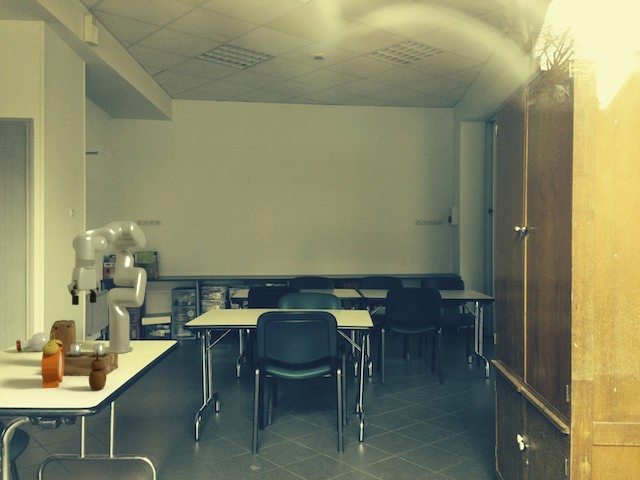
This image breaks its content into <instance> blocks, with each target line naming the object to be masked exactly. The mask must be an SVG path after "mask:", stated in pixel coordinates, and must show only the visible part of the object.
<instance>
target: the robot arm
mask: <svg viewBox="0 0 640 480" xmlns="http://www.w3.org/2000/svg"><path fill="white" fill-rule="evenodd" d="M146 239H147V238H146V235H145V234H144V232H143V230H142V229H141V228H140V226H138V224H137V223H136V222H134V221H130V220H126V221H125V220H124V221H122V220H119V221H118V220H116V221H112V222H110V223H107V224H105V225H104V226H102V227H99V228H94V229H90V230H86V231H82V232H80V233H79V234H77V235H75V237H74V238H73V240H72V243H71V245H72V248H73V250H74V252H75V255H74V256H75V258H74V259H75V260H74V265H75V266H74V267H73V270H72V273H71V283H69V284H68V285H67V286H66V287H67V290H68V292H69V294H70V296H71V305H72V306H79V304H80V302H79V301H80V296H79V293H80V292H82V291H89V292H90V293H89V303H90V304H96V303H97V294H98V292H99V290H100V287H101V282H99V281H98V280H97V274H96V273H97V272H96V267H95V264H96V262H95V253H101V252H105V250H106V249H107V247H108V245H110V244H111V246H112V248H113V251H114V254H115V257H116V258H115V259H116V260H115V267H114V273H113V283H114V284H115V285H116V286H119V287H114V288H111V289H110V290H108V292H107V295H106V298H107V299H106V302H107V305H108V316H109V319H108V322H109V324H108V325H109V326H108V327H109V329H108V333H109V334H108V337H109V339H108V340H109V341H108V343H109V345H108V348H106V349H105V352H118V354H126V353H130V352H132V351H133V350H134V348H133V347H132V346H130V344H131V339H130V314H129V311H128V310H127V309H126V308H140V307H141V306H143V304H144V300H145V294H146V287H147V286H146V285H147V271H146V270H145V269H144V268H143V267H137V266H136V267H135V266H134V264H135V258H134V256H133V255H132V253H131V252H130V250H140V249H141V250H142V249H143V248H144V247H146V244H147V242H146V241H147V240H146Z"/></svg>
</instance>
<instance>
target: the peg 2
mask: <svg viewBox="0 0 640 480" xmlns="http://www.w3.org/2000/svg"><path fill="white" fill-rule="evenodd" d="M97 349H98V357H103V356H104V352H105V343H104V342H99V343H94V344H93V352H94V357H96V355H97Z"/></svg>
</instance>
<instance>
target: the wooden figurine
mask: <svg viewBox="0 0 640 480" xmlns="http://www.w3.org/2000/svg"><path fill="white" fill-rule="evenodd" d="M103 367H104V361H103V360H101V359H99V357H98V349H97V355H96V360H93V361H92V363H91V368H92V371H91V372H90V375H89V376H88V384H89V387H90V389H91V390H92V391H101V390H103V389H104V388H105V386H106V383H107V375H106V372H105V370H104V369H103Z"/></svg>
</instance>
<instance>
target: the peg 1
mask: <svg viewBox="0 0 640 480" xmlns="http://www.w3.org/2000/svg"><path fill="white" fill-rule="evenodd" d="M81 345H82V344H81V342H76V343H72V344H70V357H79V356H81V352H82V350H81V349H82V346H81Z"/></svg>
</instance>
